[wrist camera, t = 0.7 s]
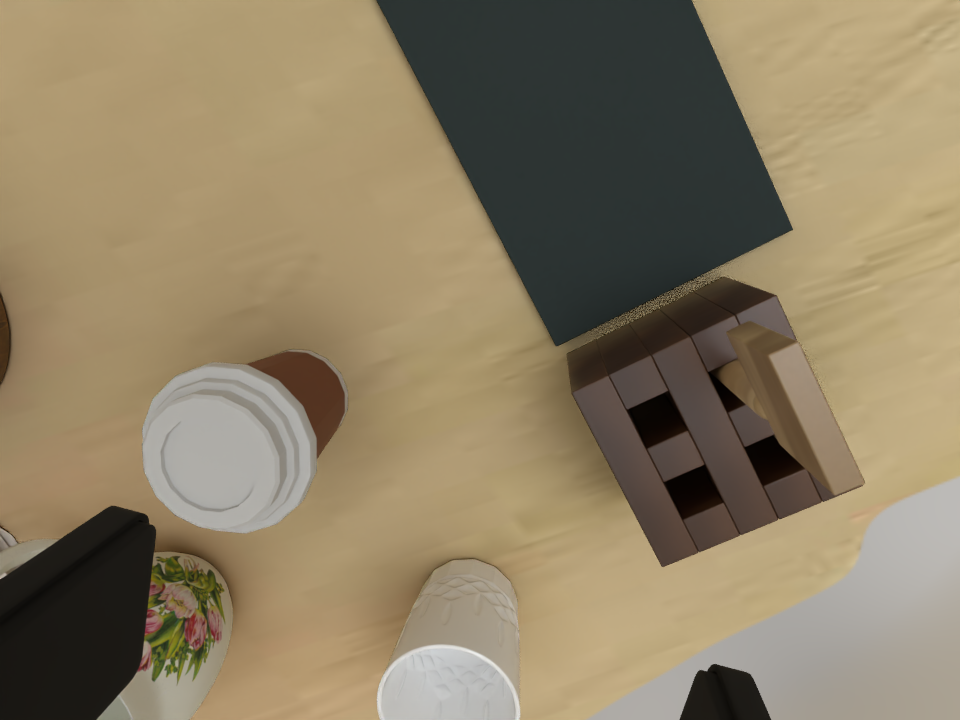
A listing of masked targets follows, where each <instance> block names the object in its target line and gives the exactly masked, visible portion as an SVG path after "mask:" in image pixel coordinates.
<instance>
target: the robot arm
mask: <svg viewBox="0 0 960 720" xmlns="http://www.w3.org/2000/svg"><path fill="white" fill-rule="evenodd" d="M155 538H156V529H155V527H154V526H153V525H150V524H149V519H148V516H147V515H145V514H143V513H139V512H136V511H132V510H128V509H124V508H120V507H117V506H111V507H108V508H106V509H105V510H103V511H102V512H100V513H99V514H97V515H96V516H94V517H93V518H91V519H90V520H88V521H87V522H85V523H84V524H82V525H81V526H79V527H78V528H76V529H75V530H73V531H72V532H70V533H69V534H67V535H66V536H64V537H63V538H61V539H60V540H58V541H57V542H55V543H54V544H52V545H51V546H49V547H48V548H46V549H45V550H43V551H42V552H40V553H39V554H37V555H36V556H34V557H33V558H31V559H30V560H28V561H27V562H25V563H24V564H22V565H21V566H19V567H18V568H16V569H15V570H13V571H12V572H10V573H9V574H7V575H6V576H4V577H3V578H1V579H0V720H97V719H98V718H99V716H100V715H101V714H102V713H103V712H104V711H105V710H106V709H107V707H108V706H109V705H110V704H111V703H112V702H113V701H114V700H115V698H116V697H117V696H118V695H119V694H120V693H121V692H122V691H123V690H124V688H125V687H126V686H127V685H128V684H129V683H130V682H131V680H132V679H133V678H134V676H135V674H136V673H137V671H138V668H139V666H140V663H141V660H142V655H143V646H144V637H145V628H146V619H147V610H148V601H149V592H150V583H151V574H152V565H153V556H154V547H155ZM680 720H771V718H770V716H769V714H768V711H767V709H766V707H765V704H764V702H763V700H762V698H761V695H760V693H759V691H758V688H757V686H756V684H755V682H754V679H753V678H752V676H751V675H750V674H748V673H747V672H743V671H739V670H736V669H731V668H728V667H724V666H720V665H717V664H713V665H711V667H710V668H709V669H708V671H703V670H700V671H698V672H697V674H696V676H695V679H694V681H693V684H692V687H691V690H690V692H689V695H688V698H687V701H686V703H685V706H684V709H683V712H682V715H681V717H680Z"/></svg>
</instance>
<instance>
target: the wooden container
mask: <svg viewBox="0 0 960 720" xmlns="http://www.w3.org/2000/svg"><path fill="white" fill-rule="evenodd" d="M8 355H9V328H8V322H7V317H6V313H5V309H4V306H3V303H2V300H1V297H0V383H1V381H2V379H3V376H4V373H5V370H6V366H7V362H8Z"/></svg>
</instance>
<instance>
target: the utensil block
mask: <svg viewBox="0 0 960 720" xmlns="http://www.w3.org/2000/svg"><path fill="white" fill-rule="evenodd" d="M747 321H752V322H754V323H757V324H759V325H761V326H764V327H766V328H768V329H771V330H773V331H775V332H778V333H780V334H782V335H785V336H787V337H789V338H792V339H794V340H796V341H797V339H796V337H795V335H794V333H793V330H792V328H791V326H790V324H789V322H788V319H787V317H786V315H785V313H784V311H783V308H782V306H781V304H780V302H779V300H778V297H777V296H776V295H774V294H772V293H769V292H766V291H763V290H760V289H758V288H755V287H752V286H749V285H746V284H744V283H741V282H738V281H735V280H732V279H730V278H727V277H723V278H721V279H718V280H716V281H714V282H712V283H710V284H708V285H706V286H704V287H702V288H700V289H698V290H696V291H694V293H693V292H692V293H690V294H688V295H686V296H684V297H682V298H680V299H678V300H676V301H674V302H672V303H670V304H668V305H666V306H663V307H661V308H660V309H658V310H655V311H653V312H651V313H649V314H647V315H645V316H643V317H641V318H639V319H637V320H635V321H633V322H631V323H629V324H627V325H625V326H623V327H621V328H619V329H617V330H614V331H612V332H610V333H608V334H606V335H604V336H602V337H600V338H598V339H596V340H594V341H592V342H590V343H588V344H586V345H584V346H582V347H580V348H578V349H576V350H574V351H572V352H570V353H568V354H567V361H568V368H569V376H570V384H571V392H572V395H573V397H574V399H575V401H576V403H577V405H578V407H579V409H580V411H581V412H582V414H583V416H584V418H585V420H586V422H587V424H588V426H589V428H590V430H591V432H592V434H593V436H594V437H595V439H596V441H597V443H598V445H599V447H600V449H601V451H602V453H603V455H604V457H605V459H606V460H607V462H608V464H609V466H610V468H611V470H612V472H613V474H614V476H615V478H616V480H617V482H618V483H619V485H620V487H621V489H622V491H623V493H624V495H625V497H626V499H627V501H628V503H629V505H630V507H631V508H632V510H633V512H634V514H635V516H636V518H637V520H638V522H639V524H640V526H641V528H642V530H643V531H644V533H645V535H646V537H647V539H648V541H649V543H650V545H651V547H652V549H653V551H654V553H655V555H656V556H657V558H658V560H659V562H660V564H661V566H662V567H664V566H667V565H669V564H672V563H674V562H677V561H679V560H682V559H684V558H687V557H689V556H691V555H694V554H696V553H698V551H699V552H701V551H704V550H706V549H709V548H711V547H713V546H716V545H718V544H721V543H723V542H726V541H728V540H731V539H733V538H736V537H738V536H740V535H743V534H745V533H748V532H750V531H752V530H755V529H757V528H760V527H762V526H765V525H767V524H770V523H772V522H775V521H777V520H778V518H779V519H782V518H784V517H787V516H789V515H792V514H794V513H797V512H799V511H802V510H804V509H807V508H809V507H811V506H814V505H816V504H819V503H821V502H822V501H823V502H824V501H827V500H829V499H832V498H834V497H837V496H839V495H842V494H844V493H847V492H849V491H851V490H854V489H856V488H859V487H861V486H863V485H861V486H858V487H856V488H853V489H851V490H848V491H846V492H843V493H841V494H838V495H833V494H832V493H831V492H830V491H829V490H828V489H827V488H826V487H824V486H823V485H822V484H821V483H820V482H819V481H818V480H817V479H816V478H815V477H814V476H813V475H812V474H811V473H810V472H809V471H807V470H806V469H805V468H804V467H803V466H802V465H801V464H800V463H799V462H798V461H797V460H796V459H795V458H794V457H793V456H791V455H790V454H789V453H788V452H787V451H786V450H785V449H784V448H783V447H782V446H781V445H780V444H779V442H778V440H777V438H776V436H775V434H774V432H773V430H772V428H771V426H770V424H769V422H768V420H765V419H763V418H761V417H760V416H758V415H757V414H756V413H755V412H754V411H753V410H752V409H751V408H749V407H748V406H747V405H746V404H745V403H744V402H743V401H742V400H740V399H739V398H738V397H737V396H736V395H735V394H734V393H733V392H732V391H730V390H729V389H728V388H727V387H726V386H725V385H724V384H723V383H721V382H720V381H719V380H718V379H717V378H716V377H715V376H714V375H712V374H711V373H710V371H712V370H714V369H716V368H718V367H721V366H723V365H725V364H727V363H729V362H731V361H734V360H736V359H738V357H737V355H736V353H735V351H734V349H733V347H732V345H731V343H730V341H729V339H728V336H727V334H726V332H727V331H728V330H730V329H733V328H735V327H737V326H739V325H741V324H743V323H745V322H747Z"/></svg>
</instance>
